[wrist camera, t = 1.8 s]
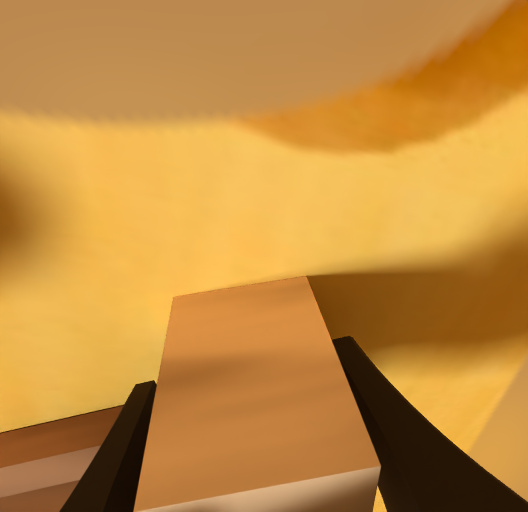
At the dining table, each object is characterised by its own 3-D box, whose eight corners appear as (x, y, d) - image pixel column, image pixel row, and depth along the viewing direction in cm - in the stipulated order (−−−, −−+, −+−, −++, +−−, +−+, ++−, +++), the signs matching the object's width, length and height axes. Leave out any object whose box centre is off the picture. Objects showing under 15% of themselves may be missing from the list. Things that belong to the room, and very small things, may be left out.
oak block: (309, 362, 13) (365, 549, 8) (201, 380, 13) (191, 584, 8) (306, 275, 11) (380, 465, 6) (173, 296, 11) (133, 511, 6)
